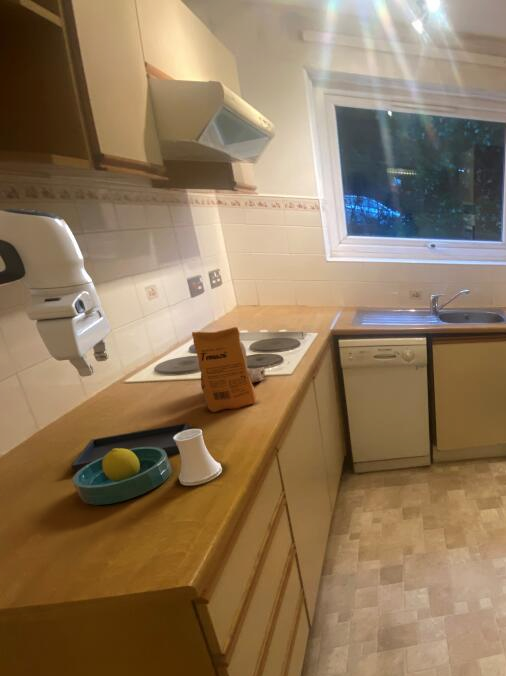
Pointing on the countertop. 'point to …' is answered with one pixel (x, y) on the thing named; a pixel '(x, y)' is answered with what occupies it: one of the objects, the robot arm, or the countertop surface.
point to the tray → (131, 443)
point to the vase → (195, 458)
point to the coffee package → (223, 370)
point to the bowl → (106, 491)
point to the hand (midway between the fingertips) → (95, 367)
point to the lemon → (120, 464)
